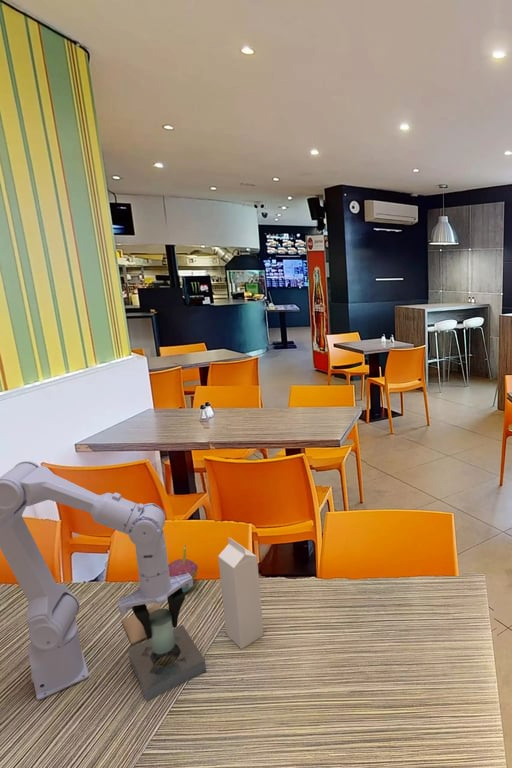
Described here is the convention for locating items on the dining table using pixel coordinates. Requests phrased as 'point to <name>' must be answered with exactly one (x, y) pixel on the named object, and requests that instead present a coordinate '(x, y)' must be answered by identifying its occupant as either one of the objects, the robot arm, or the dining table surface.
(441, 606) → the dining table surface
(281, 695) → the dining table surface
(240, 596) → the milk
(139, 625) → the coaster
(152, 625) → the cylinder
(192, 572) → the cupcake
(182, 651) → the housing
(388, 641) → the dining table surface
